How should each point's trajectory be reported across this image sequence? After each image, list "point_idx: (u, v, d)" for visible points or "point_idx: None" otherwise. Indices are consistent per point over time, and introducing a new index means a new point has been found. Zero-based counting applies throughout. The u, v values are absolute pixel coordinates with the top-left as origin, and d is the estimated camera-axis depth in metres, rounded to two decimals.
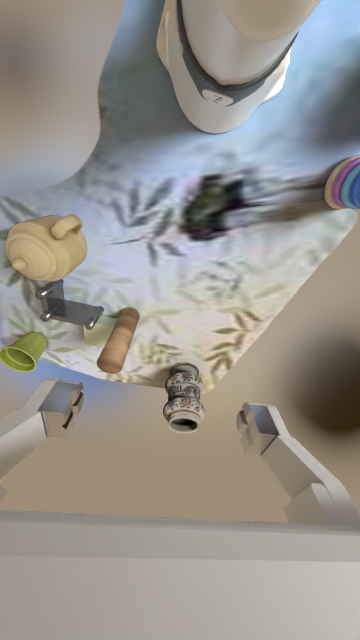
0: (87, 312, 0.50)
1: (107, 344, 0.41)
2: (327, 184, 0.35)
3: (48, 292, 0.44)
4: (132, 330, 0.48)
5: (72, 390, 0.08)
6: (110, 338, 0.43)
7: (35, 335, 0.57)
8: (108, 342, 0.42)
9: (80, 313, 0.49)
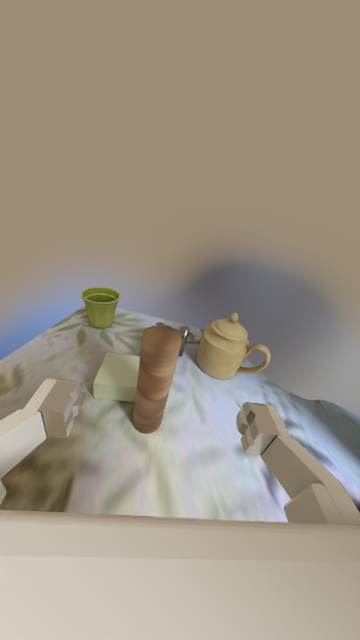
0: None
1: None
2: None
3: (185, 336, 0.46)
4: (159, 403, 0.29)
5: (72, 390, 0.08)
6: None
7: (111, 321, 0.54)
8: None
9: None
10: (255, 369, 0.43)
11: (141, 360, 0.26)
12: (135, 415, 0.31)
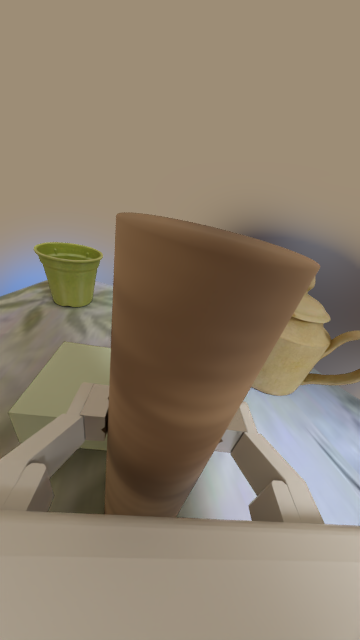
0: None
1: None
2: None
3: None
4: (181, 497, 0.09)
5: None
6: None
7: (89, 297, 0.34)
8: None
9: None
10: (346, 378, 0.23)
11: (114, 349, 0.06)
12: (107, 510, 0.11)
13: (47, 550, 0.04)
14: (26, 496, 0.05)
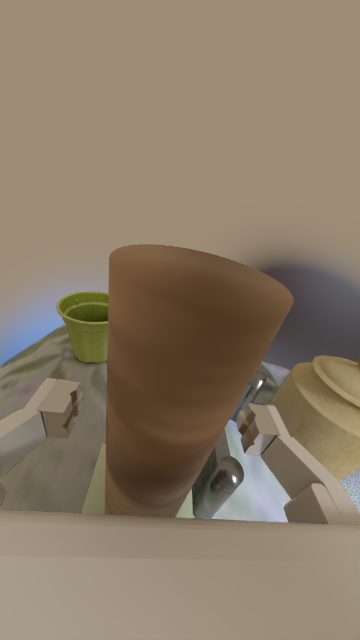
0: None
1: None
2: None
3: (257, 391, 0.24)
4: (176, 504, 0.09)
5: (72, 390, 0.08)
6: None
7: None
8: None
9: None
10: None
11: (109, 372, 0.06)
12: None
13: (47, 550, 0.04)
14: None
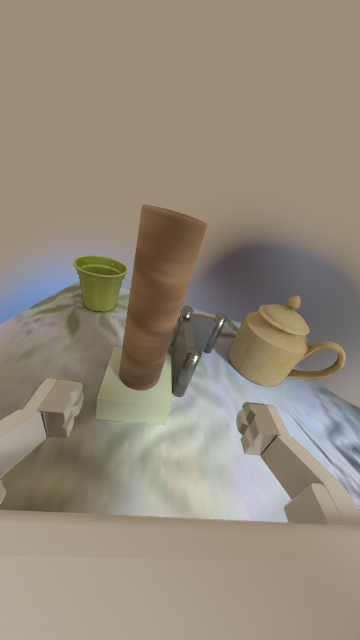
0: None
1: None
2: None
3: (220, 326, 0.34)
4: (162, 339, 0.19)
5: (72, 390, 0.08)
6: None
7: (114, 303, 0.40)
8: None
9: None
10: (318, 375, 0.31)
11: (137, 256, 0.15)
12: (123, 362, 0.21)
13: (47, 550, 0.04)
14: None
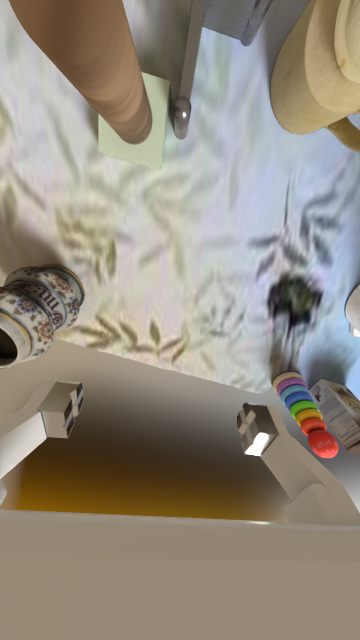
0: None
1: None
2: (291, 373, 0.52)
3: (267, 0, 0.19)
4: (128, 124, 0.19)
5: (72, 390, 0.08)
6: None
7: None
8: None
9: None
10: (354, 143, 0.25)
11: None
12: None
13: (47, 550, 0.04)
14: None
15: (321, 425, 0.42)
